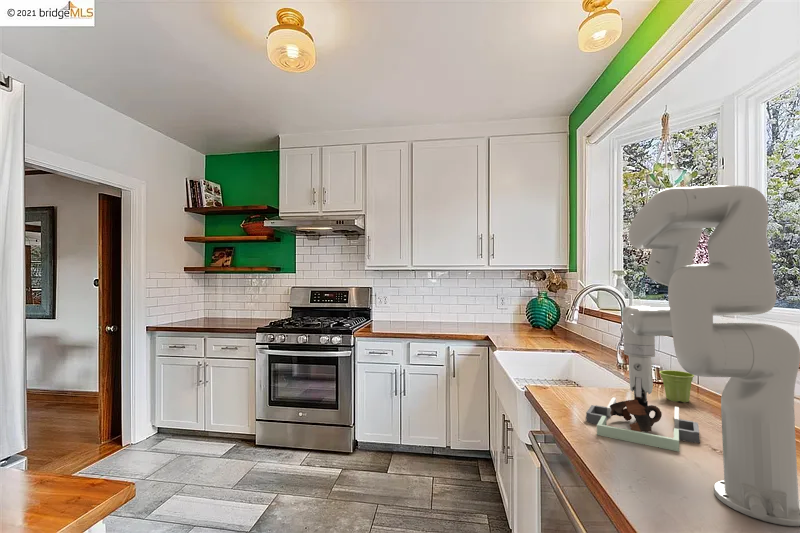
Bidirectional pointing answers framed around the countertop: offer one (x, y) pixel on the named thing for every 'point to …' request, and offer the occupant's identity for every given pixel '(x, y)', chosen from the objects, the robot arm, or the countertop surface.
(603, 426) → the pale green flat frame
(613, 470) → the countertop surface
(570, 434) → the countertop surface
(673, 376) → the plant pot
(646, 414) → the pottery mug
